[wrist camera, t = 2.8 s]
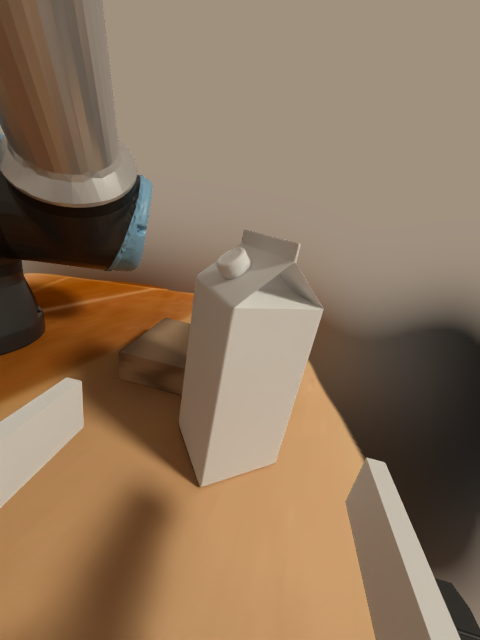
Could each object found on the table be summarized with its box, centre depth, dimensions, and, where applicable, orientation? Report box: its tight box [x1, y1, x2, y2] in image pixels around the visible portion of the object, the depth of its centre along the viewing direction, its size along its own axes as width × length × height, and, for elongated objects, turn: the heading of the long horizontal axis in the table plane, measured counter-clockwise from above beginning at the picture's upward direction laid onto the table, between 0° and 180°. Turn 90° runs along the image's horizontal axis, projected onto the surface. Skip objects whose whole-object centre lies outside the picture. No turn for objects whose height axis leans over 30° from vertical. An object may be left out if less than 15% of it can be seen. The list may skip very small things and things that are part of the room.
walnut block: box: [119, 318, 191, 395], centre depth 35 cm, size 12×12×4 cm
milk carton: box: [179, 230, 324, 487], centre depth 21 cm, size 7×7×19 cm
